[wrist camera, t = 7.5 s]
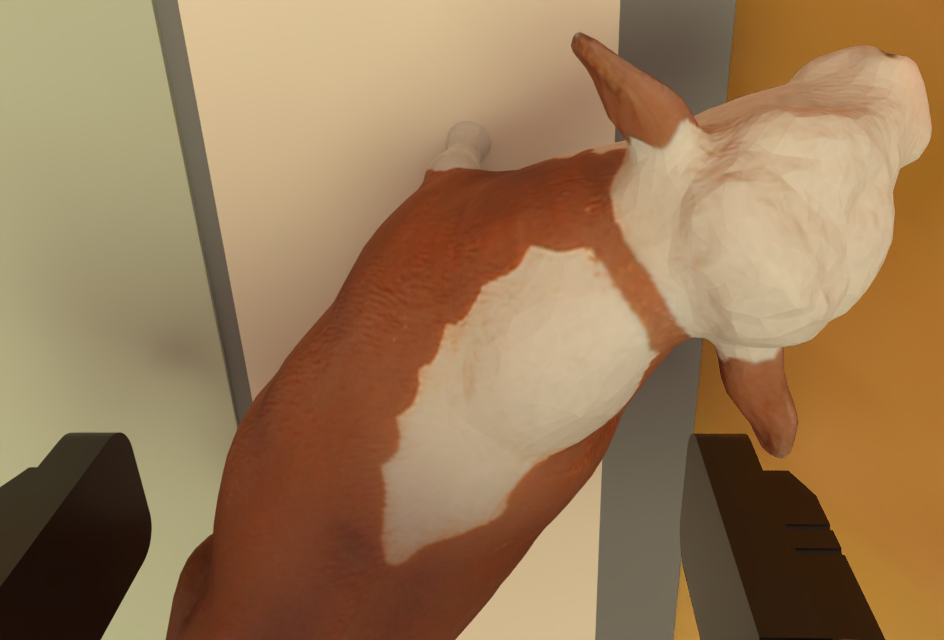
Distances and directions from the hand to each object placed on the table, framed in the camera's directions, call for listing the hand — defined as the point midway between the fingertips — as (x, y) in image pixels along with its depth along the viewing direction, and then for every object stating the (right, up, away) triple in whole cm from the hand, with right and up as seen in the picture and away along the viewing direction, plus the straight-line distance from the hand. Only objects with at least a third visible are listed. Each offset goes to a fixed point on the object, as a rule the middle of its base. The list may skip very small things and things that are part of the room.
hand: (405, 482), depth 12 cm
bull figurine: (+1, +3, +4) cm, 5 cm away
